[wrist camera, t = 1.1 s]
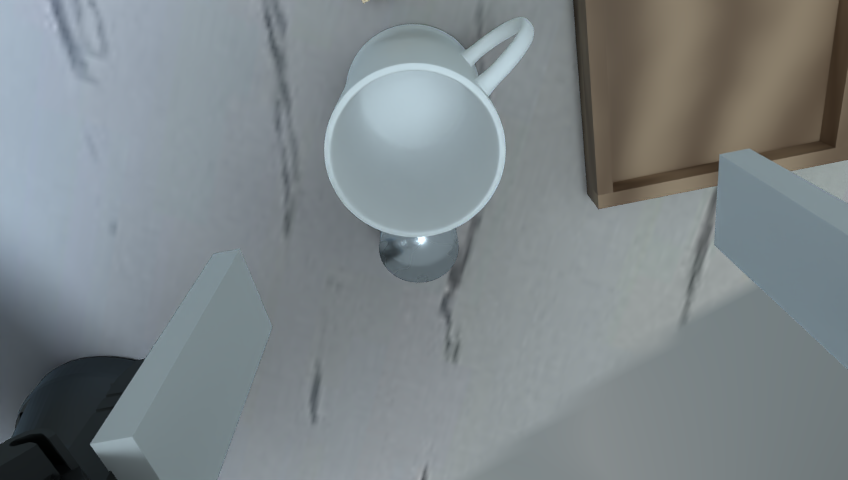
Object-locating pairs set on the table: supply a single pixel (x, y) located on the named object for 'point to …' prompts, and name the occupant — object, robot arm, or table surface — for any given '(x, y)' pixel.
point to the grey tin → (419, 255)
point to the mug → (420, 128)
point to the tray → (707, 89)
